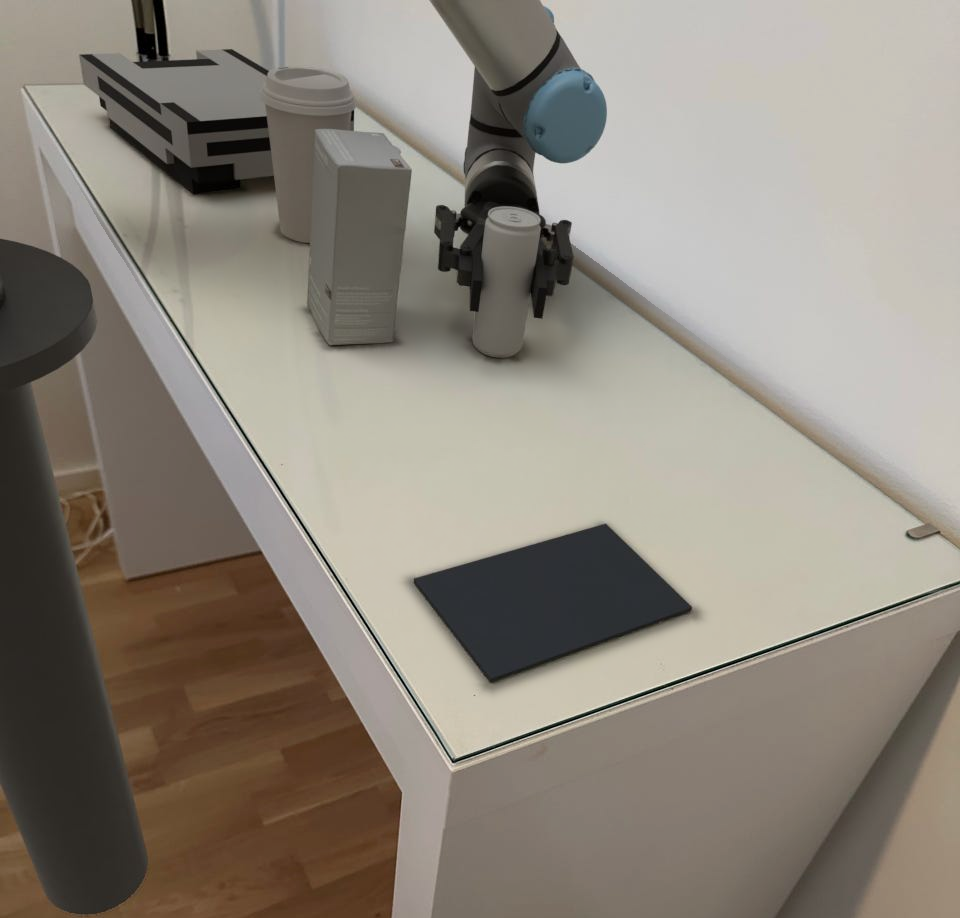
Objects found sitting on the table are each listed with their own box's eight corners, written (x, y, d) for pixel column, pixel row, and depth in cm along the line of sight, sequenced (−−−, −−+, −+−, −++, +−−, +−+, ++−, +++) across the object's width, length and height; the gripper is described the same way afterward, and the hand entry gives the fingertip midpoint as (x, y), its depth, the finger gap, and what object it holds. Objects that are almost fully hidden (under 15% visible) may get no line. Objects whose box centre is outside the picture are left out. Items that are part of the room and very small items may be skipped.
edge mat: (413, 582, 61) (413, 578, 61) (604, 527, 68) (605, 523, 68) (490, 683, 55) (491, 678, 55) (691, 611, 62) (692, 607, 62)
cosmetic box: (305, 307, 88) (302, 125, 77) (377, 304, 90) (384, 127, 79) (327, 349, 82) (328, 160, 71) (403, 344, 85) (415, 160, 74)
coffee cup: (334, 212, 106) (335, 63, 96) (367, 245, 100) (372, 91, 90) (254, 218, 102) (245, 63, 92) (283, 252, 96) (278, 92, 86)
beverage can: (471, 357, 84) (487, 223, 76) (470, 333, 88) (485, 203, 80) (523, 362, 85) (544, 229, 77) (520, 338, 88) (539, 209, 80)
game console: (235, 105, 131) (231, 38, 125) (352, 182, 114) (354, 109, 108) (88, 115, 120) (77, 43, 115) (194, 202, 103) (186, 122, 98)
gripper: (579, 249, 98) (602, 351, 81) (412, 230, 96) (400, 330, 80) (593, 174, 93) (621, 267, 76) (416, 153, 91) (405, 243, 74)
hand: (508, 299), depth 78 cm, fingers closed on beverage can, 5 cm apart
